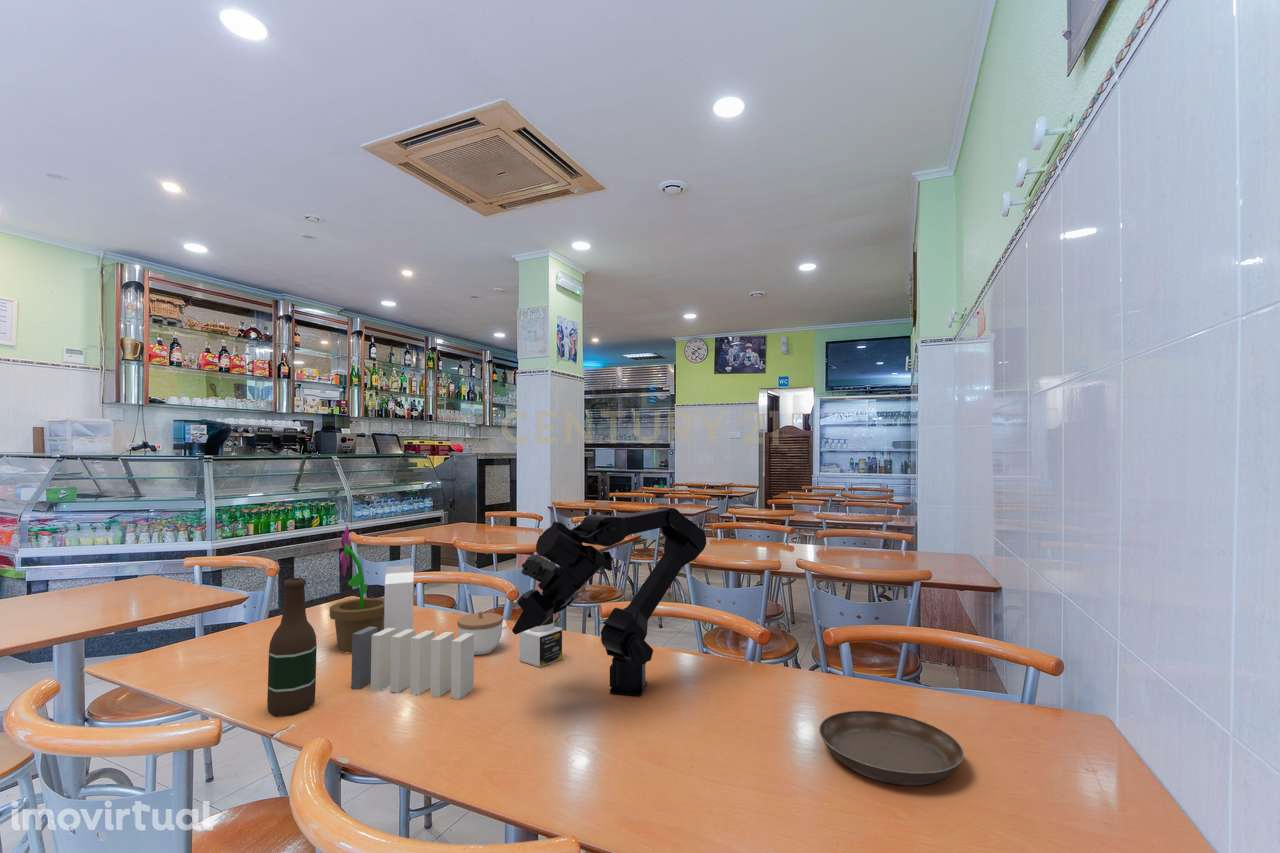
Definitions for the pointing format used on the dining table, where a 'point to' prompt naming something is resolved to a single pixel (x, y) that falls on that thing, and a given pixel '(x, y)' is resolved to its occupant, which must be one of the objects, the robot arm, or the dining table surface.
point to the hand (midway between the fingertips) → (521, 627)
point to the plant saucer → (891, 747)
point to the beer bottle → (292, 656)
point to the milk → (399, 598)
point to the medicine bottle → (541, 644)
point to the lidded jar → (482, 630)
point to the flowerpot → (355, 604)
